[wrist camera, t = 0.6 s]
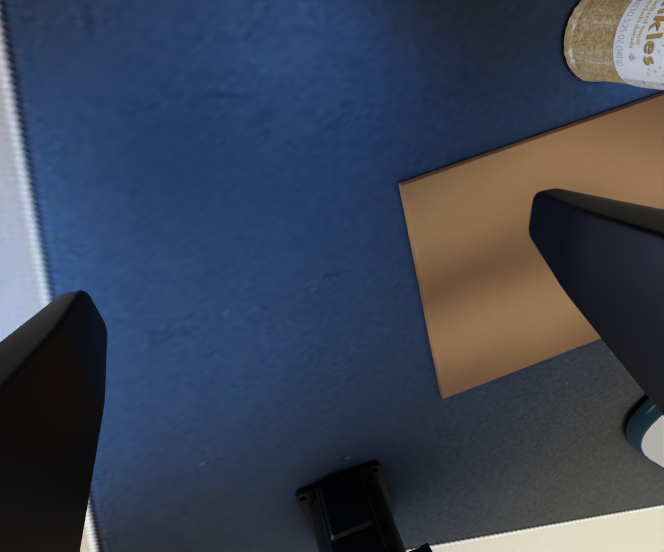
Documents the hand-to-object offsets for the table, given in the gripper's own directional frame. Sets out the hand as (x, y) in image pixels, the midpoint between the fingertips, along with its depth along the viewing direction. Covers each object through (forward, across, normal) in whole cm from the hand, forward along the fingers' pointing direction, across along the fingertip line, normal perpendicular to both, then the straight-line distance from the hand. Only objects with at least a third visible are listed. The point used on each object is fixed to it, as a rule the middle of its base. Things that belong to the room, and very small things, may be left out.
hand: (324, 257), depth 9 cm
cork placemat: (+14, -18, +12) cm, 26 cm away
